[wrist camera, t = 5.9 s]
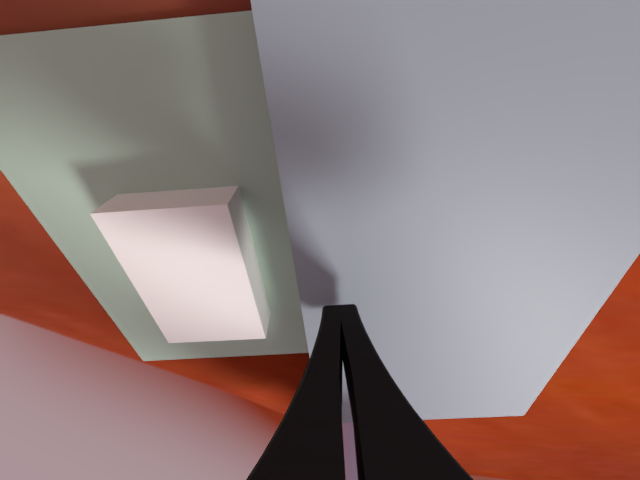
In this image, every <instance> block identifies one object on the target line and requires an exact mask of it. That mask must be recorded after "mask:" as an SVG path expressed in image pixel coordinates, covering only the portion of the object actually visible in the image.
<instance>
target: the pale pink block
mask: <svg viewBox="0 0 640 480" xmlns="http://www.w3.org/2000/svg"><path fill="white" fill-rule="evenodd" d="M90 215H91V217H92V218H93V220H94V221H95V223H96V225H97V226H98V228H99V230H100V231H101V233H102V235H103V236H104V238H105V240H106V241H107V243H108V244H109V246H110V248H111V249H112V251H113V253H114V254H115V256H116V258H117V259H118V261H119V262H120V264H121V266H122V267H123V269H124V271H125V272H126V274H127V276H128V277H129V279H130V281H131V282H132V284H133V285H134V287H135V289H136V290H137V292H138V294H139V295H140V297H141V299H142V300H143V302H144V304H145V305H146V307H147V308H148V310H149V312H150V313H151V315H152V317H153V318H154V320H155V322H156V323H157V325H158V326H159V328H160V330H161V331H162V333H163V335H164V336H165V338H166V340H167V341H168V343H184V342H204V341H225V340H246V339H266V335H267V329H268V324H269V319H270V313H271V312H270V308H269V304H268V300H267V296H266V292H265V288H264V284H263V280H262V277H261V273H260V269H259V265H258V261H257V257H256V253H255V249H254V245H253V241H252V237H251V233H250V229H249V225H248V221H247V217H246V213H245V209H244V205H243V201H242V197H241V193H240V189H239V186H228V187H214V188H199V189H185V190H170V191H156V192H142V193H127V194H117V195H116V196H114V197H113V198H112V199H110V200H109V201H107V202H106V203H104V204H103V205H101V206H100V207H99V208H97V209H96V210H94V211H93V212H91V213H90Z"/></svg>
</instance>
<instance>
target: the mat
mask: <svg viewBox="0 0 640 480" xmlns="http://www.w3.org/2000/svg"><path fill="white" fill-rule="evenodd" d="M0 170H1V171H2V172H3V174H4V175H5V177H6V178H7V179H8V181H9V182H10V183H11V185H12V186H13V187H14V189H15V190H16V191H17V193H18V194H19V195H20V197H21V198H22V199H23V201H24V202H25V203H26V205H27V206H28V207H29V209H30V210H31V211H32V213H33V214H34V215H35V217H36V218H37V219H38V221H39V222H40V223H41V225H42V226H43V227H44V229H45V230H46V232H47V233H48V234H49V236H50V237H51V238H52V240H53V241H54V242H55V244H56V245H57V246H58V248H59V249H60V250H61V252H62V253H63V254H64V256H65V257H66V258H67V260H68V261H69V262H70V264H71V265H72V266H73V268H74V269H75V270H76V272H77V273H78V274H79V276H80V277H81V278H82V280H83V281H84V282H85V284H86V285H87V286H88V288H89V289H90V291H91V292H92V293H93V295H94V296H95V297H96V299H97V300H98V301H99V303H100V304H101V305H102V307H103V308H104V309H105V311H106V312H107V313H108V315H109V316H110V317H111V319H112V320H113V321H114V323H115V324H116V325H117V327H118V328H119V329H120V331H121V332H122V333H123V335H124V336H125V337H126V339H127V340H128V341H129V343H130V344H131V345H132V347H133V348H134V350H135V351H136V352H137V354H138V355H139V356H140V358H141V359H142V360H143V361H154V360H174V359H194V358H214V357H235V356H255V355H275V354H295V353H309V352H308V346H307V340H306V334H305V328H304V322H303V315H302V309H301V303H300V297H299V291H298V285H297V279H296V273H295V267H294V261H293V255H292V249H291V243H290V237H289V231H288V225H287V219H286V213H285V207H284V201H283V195H282V189H281V183H280V177H279V170H278V164H277V158H276V152H275V146H274V140H273V134H272V128H271V122H270V116H269V110H268V104H267V98H266V92H265V86H264V80H263V74H262V68H261V62H260V56H259V50H258V44H257V38H256V32H255V25H254V19H253V13H252V10H250V11H240V12H230V13H220V14H210V15H200V16H190V17H179V18H169V19H159V20H149V21H139V22H129V23H119V24H109V25H99V26H89V27H79V28H69V29H59V30H49V31H39V32H29V33H19V34H9V35H0ZM228 186H239V189H240V193H241V197H242V201H243V205H244V209H245V213H246V217H247V221H248V225H249V229H250V233H251V237H252V241H253V245H254V249H255V253H256V257H257V261H258V265H259V269H260V273H261V277H262V280H263V284H264V288H265V292H266V296H267V300H268V304H269V308H270V312H271V313H270V319H269V324H268V329H267V335H266V339H246V340H225V341H204V342H184V343H168V341H167V340H166V338H165V336H164V335H163V333H162V331H161V330H160V328H159V326H158V325H157V323H156V322H155V320H154V318H153V317H152V315H151V313H150V312H149V310H148V308H147V307H146V305H145V304H144V302H143V300H142V299H141V297H140V295H139V294H138V292H137V290H136V289H135V287H134V285H133V284H132V282H131V281H130V279H129V277H128V276H127V274H126V272H125V271H124V269H123V267H122V266H121V264H120V262H119V261H118V259H117V258H116V256H115V254H114V253H113V251H112V249H111V248H110V246H109V244H108V243H107V241H106V240H105V238H104V236H103V235H102V233H101V231H100V230H99V228H98V226H97V225H96V223H95V221H94V220H93V218H92V217H91V215H90V213H91V212H93V211H94V210H96V209H97V208H99V207H100V206H101V205H103V204H104V203H106V202H107V201H109V200H110V199H112V198H113V197H114V196H116V195H117V194H127V193H142V192H156V191H170V190H185V189H199V188H214V187H228Z"/></svg>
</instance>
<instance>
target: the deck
mask: <svg viewBox="0 0 640 480" xmlns="http://www.w3.org/2000/svg"><path fill="white" fill-rule="evenodd" d="M250 1H251V7H252V13H253V19H254V25H255V32H256V38H257V44H258V50H259V56H260V62H261V68H262V74H263V80H264V86H265V92H266V98H267V104H268V110H269V116H270V122H271V128H272V134H273V140H274V146H275V152H276V158H277V164H278V170H279V177H280V183H281V189H282V195H283V201H284V207H285V213H286V219H287V225H288V231H289V237H290V243H291V249H292V255H293V261H294V267H295V273H296V279H297V285H298V291H299V297H300V303H301V309H302V315H303V322H304V328H305V334H306V340H307V346H308V352H309V358H310V356H311V354H312V351H313V347H314V344H315V341H316V338H317V334H318V331H319V327H320V322H321V317H322V308H323V307H324V306H327V305H345V304H355V305H356V306H357V309H358V313H359V315H360V318H361V321H362V323H363V325H364V328H365V330H366V332H367V334H368V336H369V338H370V340H371V342H372V344H373V346H374V348H375V350H376V352H377V353H378V355H379V357H380V359H381V360H382V362H383V364H384V365H385V367H386V369H387V370H388V372H389V374H390V375H391V377H392V378H393V380H394V381H395V383H396V384H397V386H398V387H399V389H400V390H401V392H402V393H403V395H404V396H405V398H406V399H407V400H408V402H409V403H410V404H411V406H412V407H413V409H414V410H415V411H416V413H417V414H418V415H419V416H420V418H421V419H422V420H425V419H450V418H476V417H501V416H524V415H525V413H526V412H527V411H528V409H529V408H530V406H531V405H532V404H533V402H534V401H535V399H536V398H537V397H538V395H539V394H540V392H541V391H542V390H543V388H544V387H545V385H546V384H547V383H548V381H549V380H550V378H551V377H552V375H553V374H554V373H555V371H556V370H557V368H558V367H559V366H560V364H561V363H562V361H563V360H564V359H565V357H566V356H567V354H568V353H569V352H570V350H571V349H572V347H573V346H574V345H575V343H576V342H577V340H578V339H579V338H580V336H581V335H582V333H583V332H584V331H585V329H586V328H587V326H588V325H589V324H590V322H591V321H592V319H593V318H594V317H595V315H596V314H597V312H598V311H599V310H600V308H601V307H602V305H603V304H604V303H605V301H606V300H607V298H608V297H609V296H610V294H611V293H612V291H613V290H614V289H615V287H616V286H617V284H618V283H619V281H620V280H621V279H622V277H623V276H624V274H625V273H626V272H627V270H628V269H629V267H630V266H631V265H632V263H633V262H634V260H635V259H636V258H637V256H638V255H639V253H640V0H250ZM349 422H353V421H352V414H351V408H350V401H349V395H348V389H347V383H346V377H345V371H344V365H343V372H342V423H349Z"/></svg>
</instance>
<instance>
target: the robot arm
mask: <svg viewBox="0 0 640 480" xmlns="http://www.w3.org/2000/svg"><path fill="white" fill-rule="evenodd" d="M343 365H344V371H345V377H346V383H347V389H348V395H349V401H350V408H351V414H352V421H353V422H349V423H342V372H343ZM247 480H473V479H472V478H471V477H470V476H469V474H468V473H467V472H466V471H465V470H464V469H463V468H462V467H461V466H460V464H459V463H458V462H457V461H456V460H455V459H454V458H453V457H452V455H451V454H450V453H449V452H448V451H447V450H446V448H445V447H444V446H443V445H442V444H441V443H440V441H439V440H438V439H437V438H436V437H435V435H434V434H433V433H432V432H431V430H430V429H429V428H428V426H427V425H426V424H425V423H424V421H423V420H422V419H421V418H420V416H419V415H418V414H417V413H416V411H415V410H414V409H413V407H412V406H411V404H410V403H409V402H408V400H407V399H406V398H405V396H404V395H403V393H402V392H401V390H400V389H399V387H398V386H397V384H396V383H395V381H394V380H393V378H392V377H391V375H390V374H389V372H388V370H387V369H386V367H385V365H384V364H383V362H382V360H381V359H380V357H379V355H378V353H377V352H376V350H375V348H374V346H373V344H372V342H371V340H370V338H369V336H368V334H367V332H366V330H365V328H364V325H363V323H362V321H361V318H360V315H359V313H358V309H357V306H356V305H355V304H345V305H327V306H324V307H323V308H322V317H321V322H320V327H319V331H318V334H317V338H316V341H315V344H314V347H313V351H312V354H311V356H310V359H309V362H308V364H307V367H306V370H305V372H304V375H303V377H302V379H301V382H300V384H299V386H298V389H297V391H296V393H295V395H294V397H293V399H292V401H291V403H290V405H289V407H288V409H287V411H286V413H285V415H284V417H283V419H282V421H281V423H280V425H279V427H278V428H277V430H276V432H275V434H274V436H273V437H272V439H271V441H270V442H269V444H268V446H267V448H266V449H265V451H264V453H263V454H262V456H261V458H260V459H259V461H258V463H257V464H256V466H255V467H254V469H253V470H252V472H251V473H250V475H249V476H248V478H247Z"/></svg>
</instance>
